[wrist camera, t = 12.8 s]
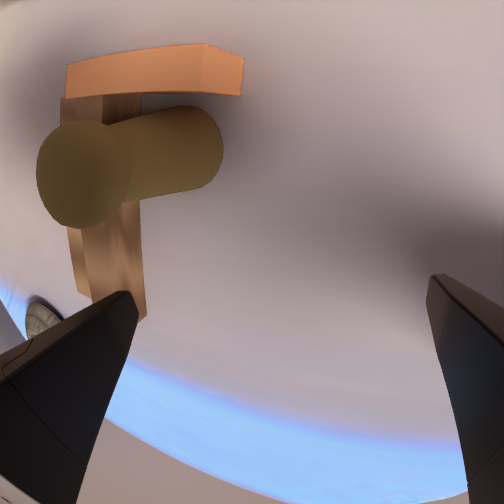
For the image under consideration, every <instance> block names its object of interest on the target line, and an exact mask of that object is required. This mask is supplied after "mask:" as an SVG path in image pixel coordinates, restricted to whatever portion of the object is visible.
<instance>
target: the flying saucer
mask: <svg viewBox="0 0 504 504" xmlns="http://www.w3.org/2000/svg"><path fill="white" fill-rule="evenodd" d="M59 322H61V320H60V319H59V318H58V317H57V316H56V315H55V314H54V313H53V312H52V311H51V310H49V309H48V308H47V307H45V306H43V305H42V304H39V303H36V302H33V303H31V304H30V305H29V307H28V309H27V312H26V318H25V327H26V333H27V337H28V340H29V339H30V338H32V337H35V336H36V335H38V334H39V333H41V332H43V331H45V330H46V329H48V328H50V327H52V326H54V325H55V324H57V323H59Z"/></svg>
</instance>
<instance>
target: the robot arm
mask: <svg viewBox="0 0 504 504" xmlns="http://www.w3.org/2000/svg"><path fill="white" fill-rule="evenodd" d="M426 307H427V311H428V316H429V320H430V324H431V329H432V334H433V339H434V343H435V348H436V352H437V356H438V359H439V362H440V365H441V369H442V372H443V375H444V379H445V382H446V386H447V390H448V393H449V397H450V401H451V405H452V409H453V413H454V417H455V421H456V426H457V430H458V435H459V439H460V444H461V449H462V455H463V460H464V466H465V472H466V478H467V482H468V483H467V487H468V494H469V502H470V504H504V308H502V307H501V306H499V305H497V304H496V303H494V302H492V301H491V300H489V299H487V298H486V297H484V296H482V295H481V294H479V293H477V292H475V291H474V290H472V289H470V288H469V287H467V286H465V285H463V284H462V283H460V282H458V281H456V280H455V279H453V278H451V277H449V276H447V275H446V274H434V275H432V276H431V277H430V280H429V286H428V292H427V298H426ZM138 320H139V311H138V308H137V306H136V303H135V301H134V298H133V296H132V293H131V292H130V291H128V290H119V291H116V292H114V293H112V294H110V295H109V296H107V297H105V298H103V299H101V300H99V301H97V302H96V303H94V304H92V305H90V306H88V307H86V308H84V309H83V310H81V311H79V312H77V313H75V314H74V315H72V316H70V317H68V318H66V319H64V320H63V321H61V322H59V323H57V324H55V325H54V326H52V327H50V328H48V329H46V330H45V331H43V332H41V333H39V334H38V335H36V336H35V337H32V338H30V339H29V340H27V341H25V342H23V343H21V344H20V345H18V346H16V347H14V348H12V349H10V350H8V351H6V352H5V353H3V354H1V355H0V504H76V502H77V498H78V495H79V492H80V488H81V485H82V482H83V479H84V475H85V472H86V469H87V465H88V462H89V459H90V456H91V453H92V450H93V447H94V444H95V441H96V438H97V435H98V433H99V430H100V427H101V424H102V421H103V419H104V416H105V413H106V410H107V408H108V405H109V402H110V400H111V397H112V394H113V392H114V389H115V387H116V384H117V382H118V379H119V376H120V374H121V371H122V369H123V366H124V364H125V361H126V359H127V356H128V353H129V350H130V346H131V343H132V339H133V336H134V333H135V329H136V326H137V323H138Z"/></svg>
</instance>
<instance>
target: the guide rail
mask: <svg viewBox="0 0 504 504" xmlns="http://www.w3.org/2000/svg"><path fill="white" fill-rule="evenodd" d="M243 67H244V58H242V57H239V56H237V55H234V54H232V53H229V52H226V51H224V50H221V49H218V48H216V47H213V46H210V45H207V44H189V45H177V46H167V47H158V48H150V49H143V50H136V51H130V52H124V53H118V54H113V55H107V56H103V57H98V58H93V59H89V60H84V61H80V62H76V63H72V64H68V65H67V76H66V92H65V97H64V98H61V110H60V126H61V125H63V124H65V123H67V122H71V121H80V120H93V121H98V122H100V123H102V124H105V125H107V126H108V125H112V124H115V123H118V122H121V121H125V120H128V119H132V118H135V117H139V116H140V114H141V97H142V94H217V95H236V96H241V87H242V77H243ZM67 233H68V240H69V247H70V253H71V259H72V265H73V270H74V276H75V281H76V286H77V291H78V292H79V293H81V294H83V295H85V296H87V297H89V298H91V299H92V303H93V304H94V303H96V302H97V301H99V300H101V299H103V298H105V297H107V296H109V295H110V294H112V293H114V292H116V291H119V290H128V291H130V292H131V293H132V296H133V298H134V301H135V303H136V306H137V308H138V311H139V320H138V322H140V321H141V320H142V319H143V318H144V317H145V316H146V315H147V311H146V301H145V291H144V280H143V267H142V252H141V234H140V207H139V200H136V201H131V202H126V203H122V205H121V207H120V208H119V209H118V210H117V211H116V212H115V213H114V214H113V215H112V216H110V217H109V218H108V219H107V220H106V221H105V222H103V223H101V224H99V225H97V226H93V227H89V228H84V229H75V228H71V227H68V226H67Z"/></svg>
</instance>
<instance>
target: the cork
mask: <svg viewBox="0 0 504 504" xmlns="http://www.w3.org/2000/svg"><path fill="white" fill-rule="evenodd" d="M222 158H223V142H222V138H221V134H220V130H219V128H218V127H217V125H216V124H215V122H214V120H213V119H212V118H211V117H210V116H209V115H208V114H207V113H205V112H204V111H203V110H201V109H198V108H195V107H193V106H178V107H174V108H170V109H166V110H162V111H158V112H154V113H150V114H146V115H142V116H139V117H135V118H132V119H128V120H125V121H121V122H118V123H115V124H112V125H108V126H107V125H105V124H102V123H100V122H98V121H93V120H80V121H71V122H67V123H65V124H63V125H61V126H59V127H58V128H57V129H55V130H54V131H53V132H51V133H50V135H49V136H48V137H47V138H46V139H45V141H44V142H43V144H42V146H41V147H40V151H39V154H38V158H37V167H36V178H37V186H38V190H39V194H40V197H41V199H42V201H43V204H44V206H45V208H46V209H47V211H48V212H49V213H50V215H51V216H52V217H53V219H55V220H56V221H57V222H58V223H60V224H61V225H64V226H68V227H71V228H75V229H84V228H89V227H93V226H97V225H99V224H101V223H103V222H105V221H106V220H107V219H108V218H109V217H110V216H112V215H113V214H114V213H115V212H116V211H117V210H118V209H119V208H120V207H121V205H122V203H126V202H131V201H136V200H140V199H145V198H150V197H156V196H161V195H166V194H171V193H177V192H182V191H188V190H193V189H197V188H201V187H202V186H204V185H205V184H207V183H208V182H210V181H211V180H212V178H213V177H214V176H215V174H216V173H217V172H218V170H219V167H220V164H221V161H222Z"/></svg>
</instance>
